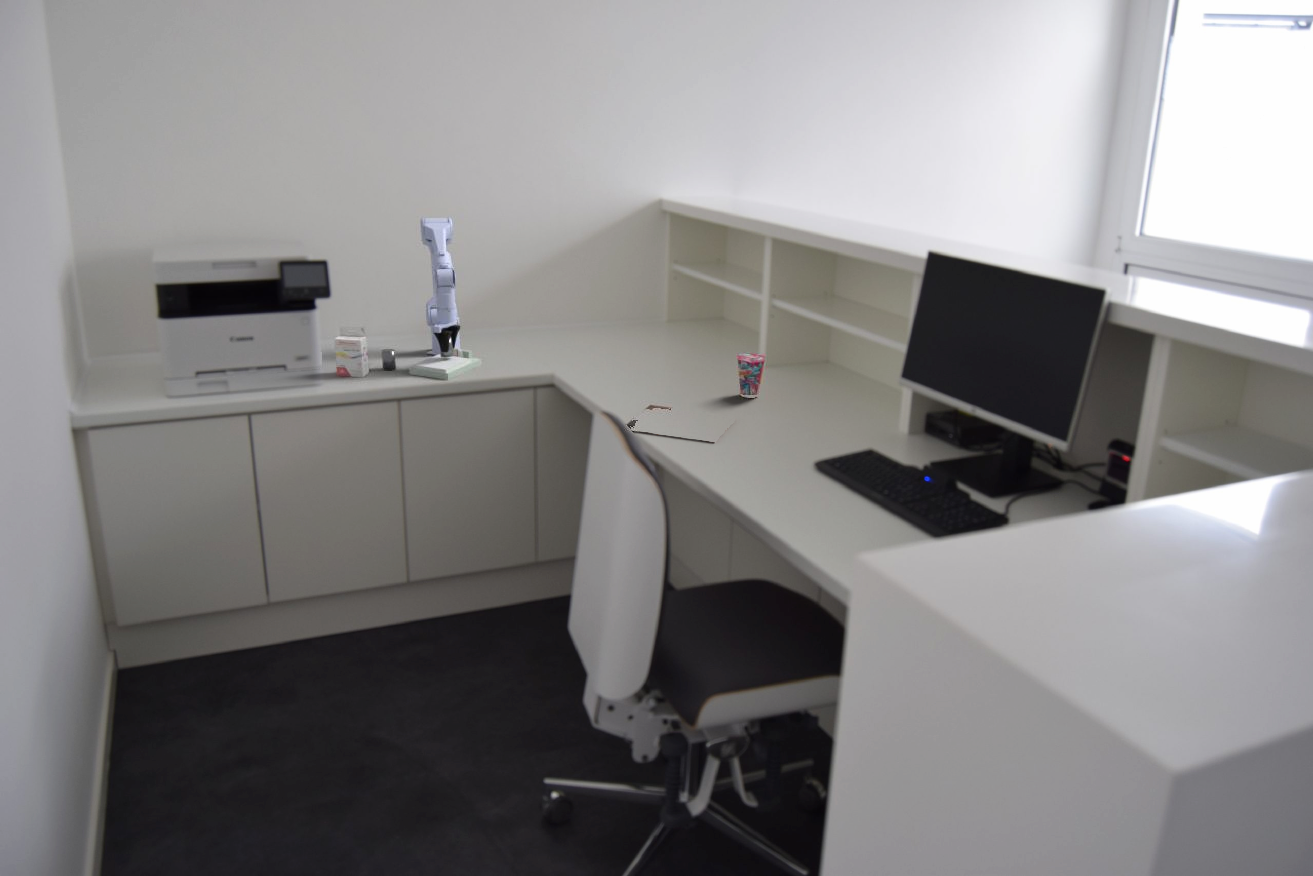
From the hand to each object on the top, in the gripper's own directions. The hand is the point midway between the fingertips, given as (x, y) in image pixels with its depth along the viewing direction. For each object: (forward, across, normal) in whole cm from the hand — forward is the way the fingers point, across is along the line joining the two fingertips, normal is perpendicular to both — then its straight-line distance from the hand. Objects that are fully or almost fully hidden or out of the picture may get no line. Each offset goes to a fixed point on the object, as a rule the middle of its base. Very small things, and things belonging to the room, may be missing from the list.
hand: (448, 350), depth 313 cm
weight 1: (+6, +6, -17) cm, 19 cm away
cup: (+6, 0, +96) cm, 96 cm away
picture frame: (+7, +32, +82) cm, 88 cm away
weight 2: (+2, 0, 0) cm, 2 cm away
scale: (+6, +1, 0) cm, 6 cm away
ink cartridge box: (+6, +16, -25) cm, 30 cm away
